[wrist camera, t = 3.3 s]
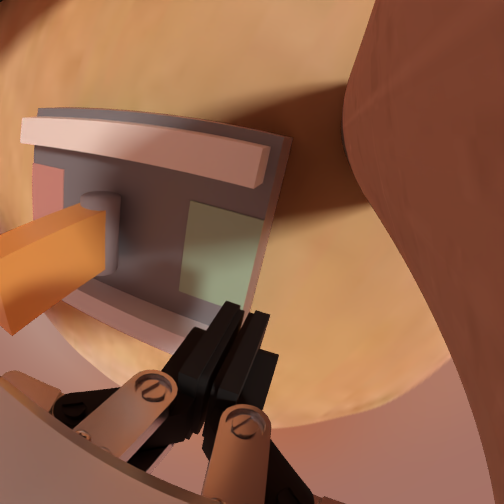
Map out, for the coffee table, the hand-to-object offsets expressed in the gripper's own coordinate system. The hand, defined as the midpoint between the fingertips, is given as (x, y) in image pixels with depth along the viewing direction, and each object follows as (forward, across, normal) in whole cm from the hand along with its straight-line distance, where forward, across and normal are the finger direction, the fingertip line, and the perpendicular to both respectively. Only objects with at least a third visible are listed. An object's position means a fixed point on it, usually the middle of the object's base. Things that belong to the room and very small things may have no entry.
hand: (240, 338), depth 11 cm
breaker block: (+9, +10, 0) cm, 14 cm away
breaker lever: (+5, +10, 0) cm, 11 cm away
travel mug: (+9, -5, -9) cm, 14 cm away
